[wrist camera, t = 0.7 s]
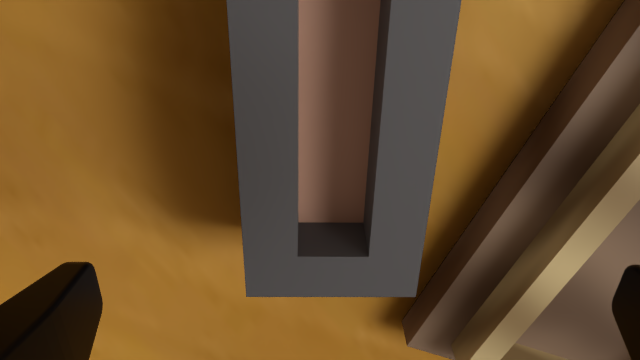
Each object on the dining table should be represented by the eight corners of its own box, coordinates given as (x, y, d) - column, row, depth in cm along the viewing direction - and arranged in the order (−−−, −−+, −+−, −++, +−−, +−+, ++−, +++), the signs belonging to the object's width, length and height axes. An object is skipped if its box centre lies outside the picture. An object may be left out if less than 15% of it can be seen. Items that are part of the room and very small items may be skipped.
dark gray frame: (398, 230, 22) (415, 297, 18) (255, 229, 22) (246, 296, 18) (446, -169, 15) (489, -181, 11) (236, -174, 15) (213, -189, 11)
